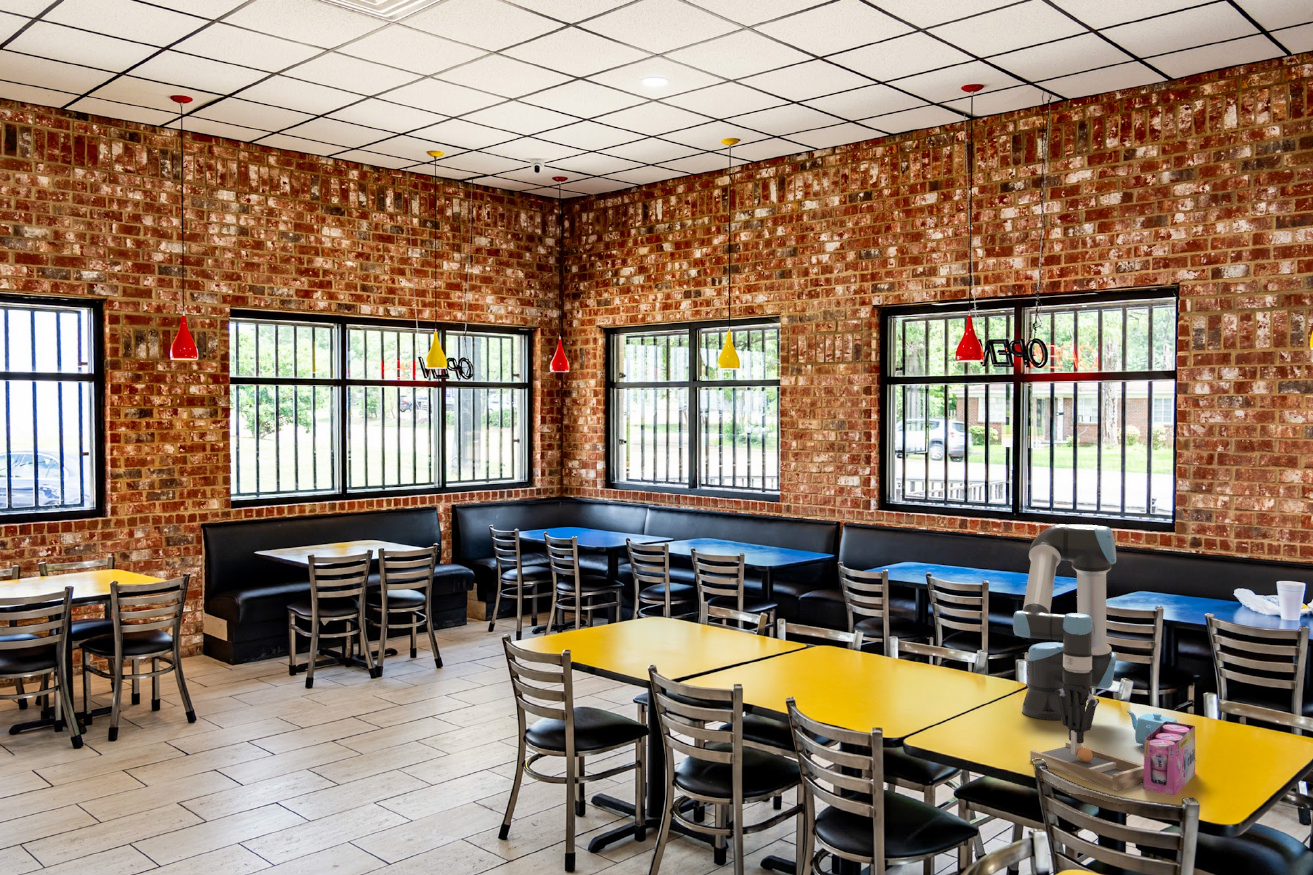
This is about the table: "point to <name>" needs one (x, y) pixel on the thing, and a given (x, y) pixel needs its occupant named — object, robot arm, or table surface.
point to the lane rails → (1118, 781)
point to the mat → (1094, 764)
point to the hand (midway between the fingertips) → (1076, 753)
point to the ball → (1084, 755)
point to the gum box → (1169, 758)
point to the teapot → (1147, 725)
